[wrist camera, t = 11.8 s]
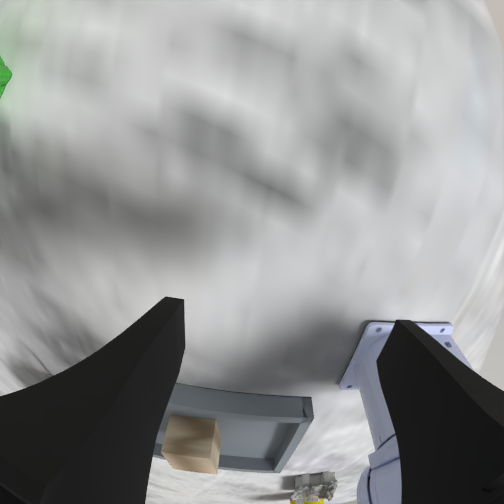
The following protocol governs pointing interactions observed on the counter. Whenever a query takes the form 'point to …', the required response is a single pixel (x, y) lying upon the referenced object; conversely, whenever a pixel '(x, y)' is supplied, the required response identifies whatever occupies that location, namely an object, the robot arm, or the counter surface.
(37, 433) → the robot arm
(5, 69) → the fruit basket
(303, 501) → the supplement bottle
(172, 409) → the tray
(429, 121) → the counter surface
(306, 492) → the grey lumpy block
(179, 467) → the wooden cube
